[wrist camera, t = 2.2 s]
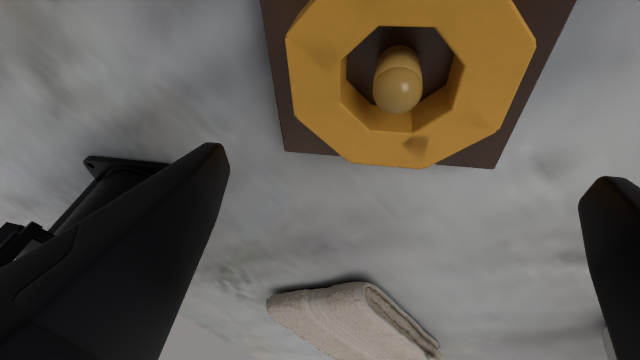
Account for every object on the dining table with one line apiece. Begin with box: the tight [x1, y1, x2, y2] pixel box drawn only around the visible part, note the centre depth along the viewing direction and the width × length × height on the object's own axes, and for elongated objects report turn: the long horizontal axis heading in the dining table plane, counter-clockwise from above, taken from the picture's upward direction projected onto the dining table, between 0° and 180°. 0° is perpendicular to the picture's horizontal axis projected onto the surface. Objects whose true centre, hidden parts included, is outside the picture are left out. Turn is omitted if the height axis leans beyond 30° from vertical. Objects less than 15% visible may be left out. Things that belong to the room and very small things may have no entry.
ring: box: [285, 0, 536, 169], centre depth 11 cm, size 7×7×2 cm
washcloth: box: [266, 282, 443, 360], centre depth 33 cm, size 12×18×3 cm, turn 37°
